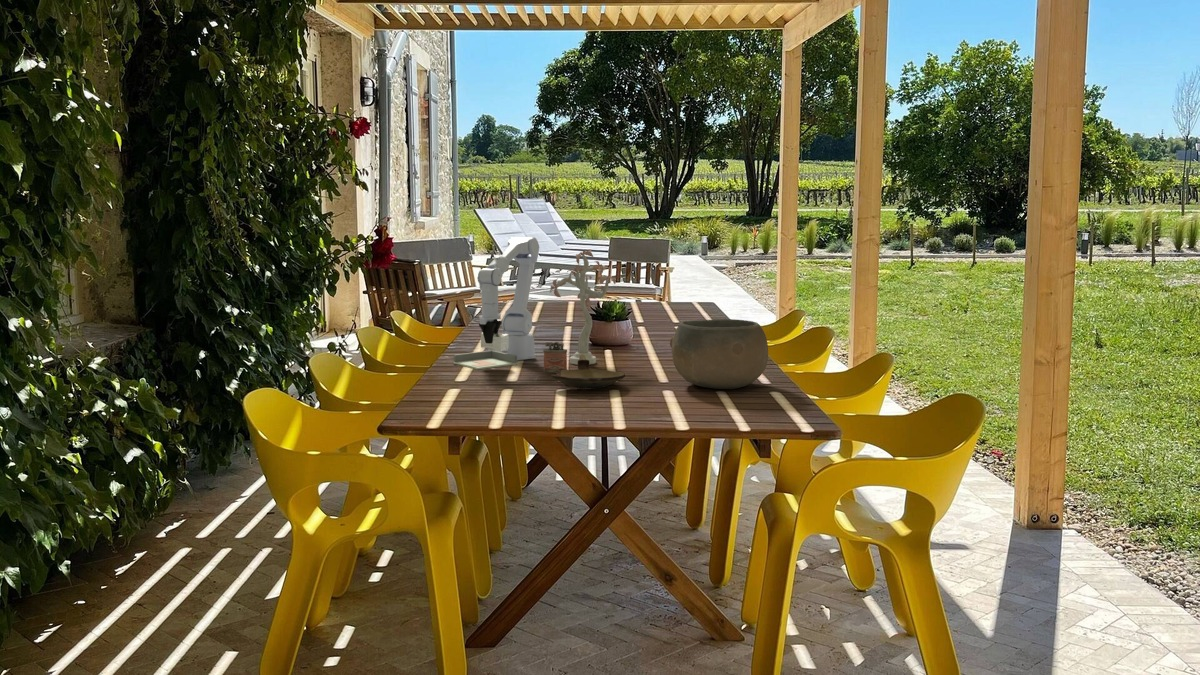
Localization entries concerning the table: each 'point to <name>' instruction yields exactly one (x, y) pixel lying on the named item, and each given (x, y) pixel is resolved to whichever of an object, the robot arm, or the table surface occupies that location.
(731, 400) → the table surface
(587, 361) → the oil lamp
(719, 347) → the clay pot
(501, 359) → the arena
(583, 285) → the white tree stand
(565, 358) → the lighter
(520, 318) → the robot arm
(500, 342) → the bracket
